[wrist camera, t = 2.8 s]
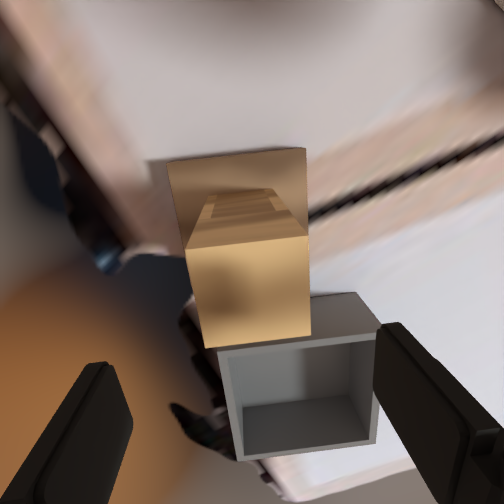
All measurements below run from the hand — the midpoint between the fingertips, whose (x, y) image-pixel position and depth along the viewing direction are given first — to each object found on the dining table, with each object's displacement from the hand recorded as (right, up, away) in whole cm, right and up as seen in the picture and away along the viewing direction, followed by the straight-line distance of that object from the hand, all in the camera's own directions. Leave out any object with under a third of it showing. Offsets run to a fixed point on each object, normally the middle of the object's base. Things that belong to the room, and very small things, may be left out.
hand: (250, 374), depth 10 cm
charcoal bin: (+5, -8, +25) cm, 27 cm away
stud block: (-1, +8, +18) cm, 20 cm away
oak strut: (-1, +7, +16) cm, 18 cm away
